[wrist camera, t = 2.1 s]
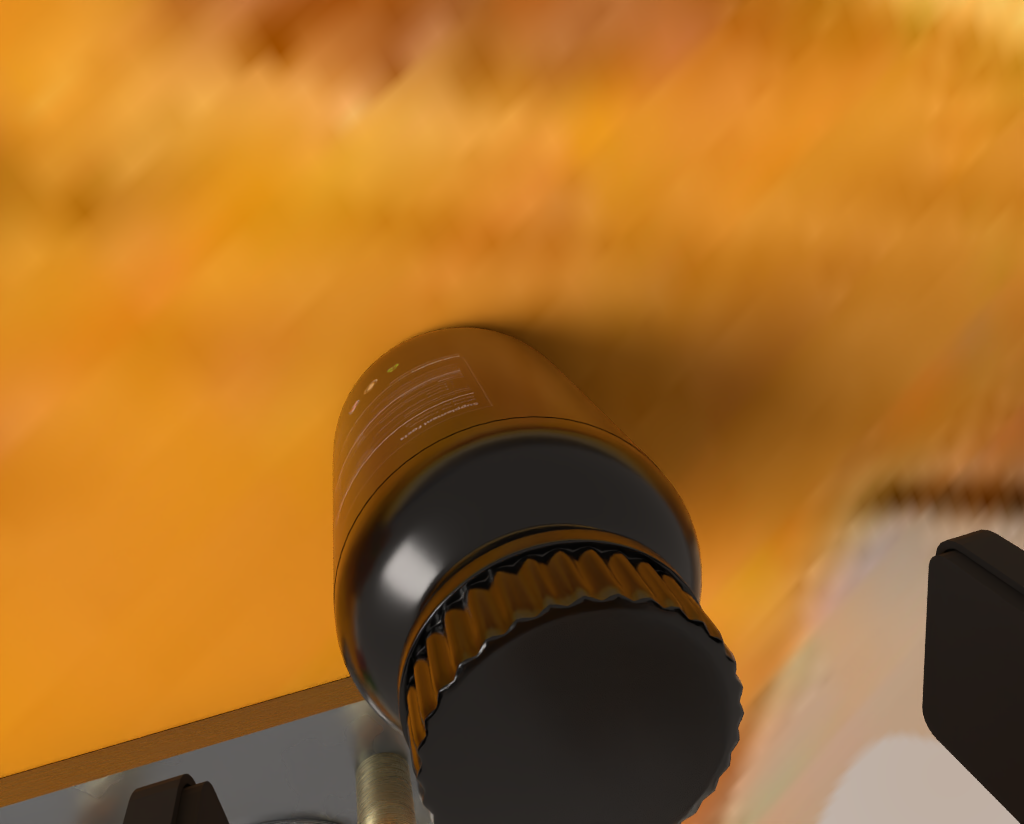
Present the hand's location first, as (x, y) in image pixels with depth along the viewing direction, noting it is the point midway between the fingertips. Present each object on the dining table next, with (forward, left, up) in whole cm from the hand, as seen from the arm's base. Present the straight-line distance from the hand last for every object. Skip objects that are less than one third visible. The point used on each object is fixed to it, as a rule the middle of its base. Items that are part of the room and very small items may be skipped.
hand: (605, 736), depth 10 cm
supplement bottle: (0, +1, -13) cm, 13 cm away
